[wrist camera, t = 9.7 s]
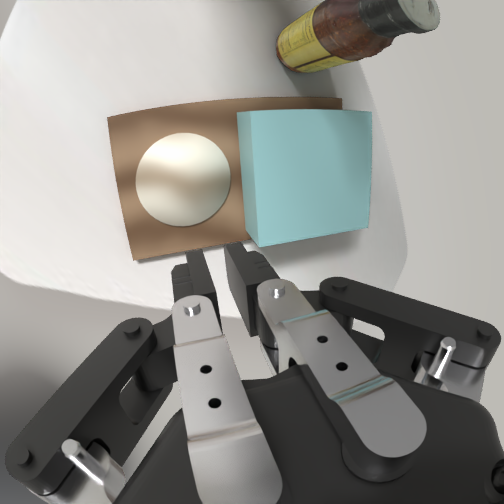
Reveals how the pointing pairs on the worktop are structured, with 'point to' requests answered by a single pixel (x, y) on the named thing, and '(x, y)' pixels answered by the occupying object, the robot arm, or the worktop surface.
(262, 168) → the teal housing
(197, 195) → the walnut board
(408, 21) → the sauce bottle
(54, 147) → the worktop surface
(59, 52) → the worktop surface
